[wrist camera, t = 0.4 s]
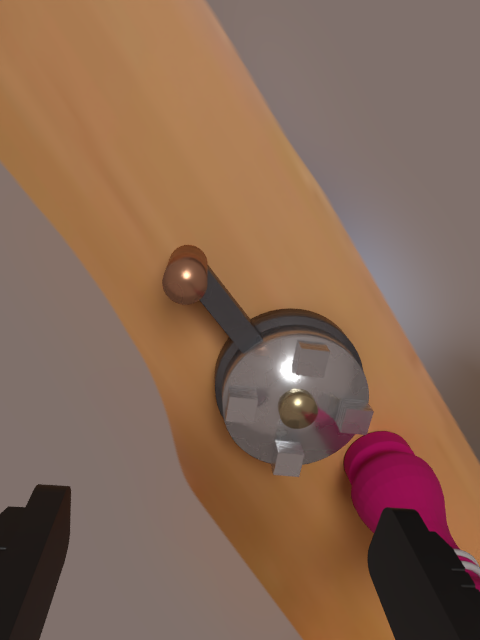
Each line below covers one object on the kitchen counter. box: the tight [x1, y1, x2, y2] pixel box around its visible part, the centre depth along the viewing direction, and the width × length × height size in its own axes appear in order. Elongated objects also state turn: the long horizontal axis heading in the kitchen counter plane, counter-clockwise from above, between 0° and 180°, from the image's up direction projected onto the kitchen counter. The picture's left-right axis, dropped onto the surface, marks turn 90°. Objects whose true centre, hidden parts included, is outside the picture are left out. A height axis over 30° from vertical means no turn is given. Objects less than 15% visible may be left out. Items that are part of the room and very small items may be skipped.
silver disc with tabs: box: [215, 309, 363, 418], centre depth 36 cm, size 12×12×2 cm
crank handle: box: [162, 245, 373, 477], centre depth 31 cm, size 20×11×6 cm, turn 36°
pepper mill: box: [344, 431, 480, 591], centre depth 32 cm, size 7×7×20 cm
